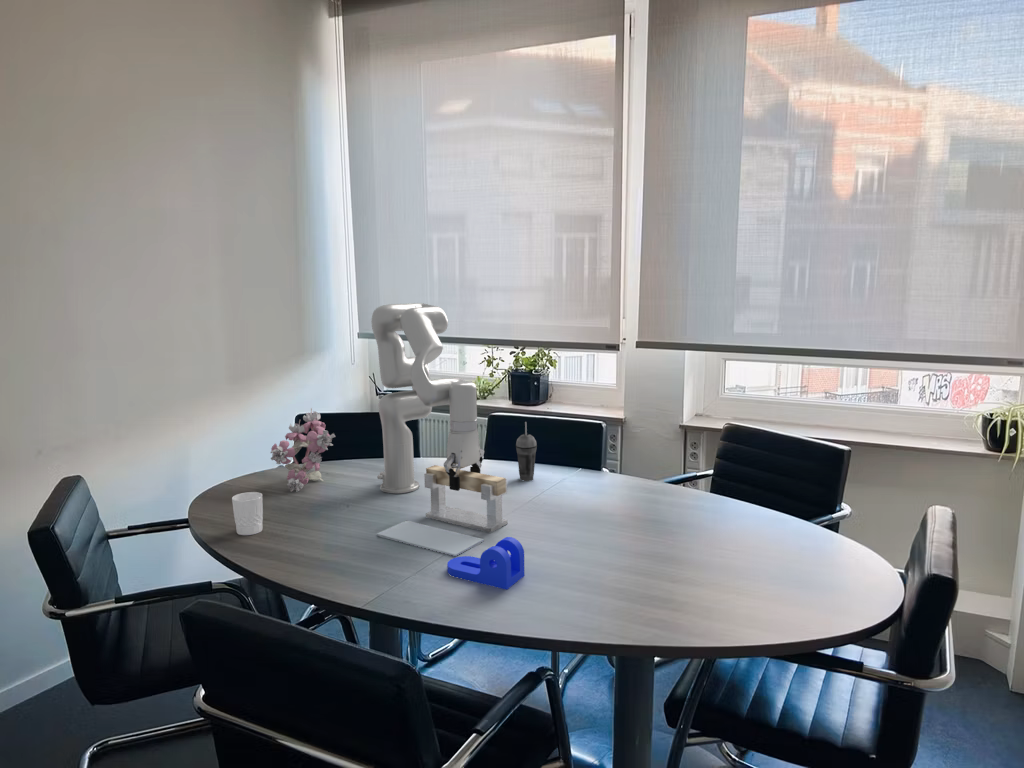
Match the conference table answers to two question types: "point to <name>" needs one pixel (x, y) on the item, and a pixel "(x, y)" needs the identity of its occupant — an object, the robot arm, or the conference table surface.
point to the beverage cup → (526, 455)
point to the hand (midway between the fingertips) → (465, 485)
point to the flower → (312, 444)
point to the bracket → (492, 565)
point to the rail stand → (461, 516)
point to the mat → (430, 538)
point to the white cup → (248, 513)
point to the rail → (469, 480)
